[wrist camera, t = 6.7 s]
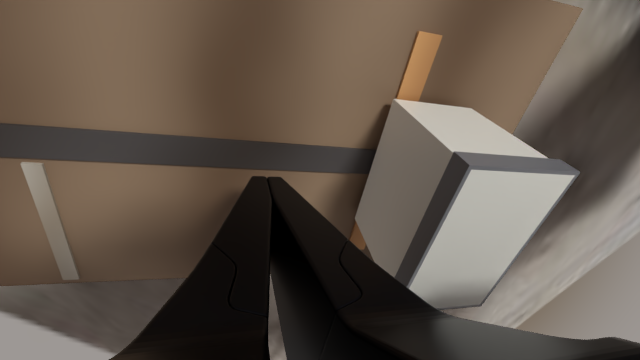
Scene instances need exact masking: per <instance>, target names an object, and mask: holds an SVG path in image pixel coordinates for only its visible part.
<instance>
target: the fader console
mask: <svg viewBox="0 0 640 360" xmlns="http://www.w3.org/2000/svg"><path fill="white" fill-rule="evenodd" d="M582 10H583V8H579V7H575V6H571V5H567V4H563V3H560V2H556V1H552V0H0V286H14V285H37V284H59V283H81V282H103V281H126V280H148V279H170V278H187V277H188V276H189V274H190V273H191V272H192V271H193V269H194V268H195V266H196V265H197V263H198V262H199V260H200V259H201V257H202V256H203V254H204V253H205V251H206V250H207V248H208V246H209V245H210V244H211V242H212V240H213V239H214V237H215V235H216V234H217V232H218V230H219V229H220V227H221V226H222V224H223V222H224V221H225V219H226V217H227V216H228V214H229V213H230V211H231V209H232V208H233V206H234V204H235V203H236V201H237V200H238V198H239V196H240V195H241V193H242V191H243V190H244V188H245V187H246V185H247V183H248V182H249V180H250V178H251V177H252V176H265V177H266V178H267V177H269V176H271V177H282V178H283V179H284V180H285V181H286V182H287V183H288V184H289V185H290V186H292V187H293V188H294V189H295V190H296V191H297V192H298V193H299V194H300V195H301V196H302V197H303V198H305V199H306V200H307V201H308V202H309V203H310V204H311V205H312V206H313V207H314V208H315V209H316V210H317V211H319V212H320V213H321V214H322V215H323V216H324V217H325V218H326V219H327V220H328V221H329V222H330V223H332V224H333V225H334V226H335V227H336V228H337V229H338V230H339V231H340V232H341V233H342V234H343V235H345V236H346V237H347V238H348V240H350V241H351V242H352V243H353V244H354V245H355V246H357V247H358V248H359V249H360V250H361V251H362V252H363V253H364V254H366V255H367V256H368V257H369V258H370V259H371V260H373V258H372V256H371V253H370V251H369V249H368V247H367V244H366V242H365V240H364V238H363V236H362V233H361V231H360V229H359V227H358V225H357V222H356V220H355V216H356V213H357V210H358V207H359V203H360V200H361V197H362V194H363V191H364V188H365V185H366V182H367V179H368V176H369V173H370V169H371V166H372V163H373V160H374V157H375V154H376V151H377V148H378V145H379V142H380V138H381V135H382V132H383V129H384V126H385V123H386V120H387V117H388V114H389V111H390V108H391V104H392V101H393V99H400V100H408V101H416V102H424V103H432V104H441V105H449V106H457V107H465V108H472V109H473V110H475V111H476V112H478V113H479V114H481V115H482V116H484V117H486V118H487V119H489V120H490V121H492V122H493V123H495V124H496V125H498V126H499V127H501V128H502V129H504V130H506V131H507V132H509V133H510V134H513V132H514V130H515V129H516V127H517V125H518V123H519V121H520V120H521V118H522V116H523V114H524V113H525V111H526V109H527V107H528V105H529V104H530V102H531V100H532V98H533V97H534V95H535V93H536V91H537V90H538V88H539V86H540V84H541V82H542V81H543V79H544V77H545V75H546V74H547V72H548V70H549V68H550V67H551V65H552V63H553V61H554V59H555V58H556V56H557V54H558V52H559V51H560V49H561V47H562V45H563V43H564V42H565V40H566V38H567V36H568V35H569V33H570V31H571V29H572V28H573V26H574V24H575V22H576V20H577V19H578V17H579V15H580V13H581V12H582ZM373 261H374V260H373Z"/></svg>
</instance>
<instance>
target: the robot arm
mask: <svg viewBox="0 0 640 360" xmlns="http://www.w3.org/2000/svg"><path fill="white" fill-rule="evenodd" d="M270 274H271V279H272V284H273V289H274V294H275V300H276V305H277V310H278V315H279V320H280V326H281V331H282V336H283V341H284V346H285V352H286V357H287V360H640V343H637V342H632V341H628V340H625V339H621V338H616V337H605V338H599V339H590V340H581V339H569V338H561V337H555V336H549V335H543V334H538V333H533V332H528V331H523V330H518V329H513V328H508V327H503V326H498V325H493V324H488V323H482V322H477V321H472V320H467V319H462V318H458V317H454V316H451V315H448V314H446V313H444V312H442V311H440V310H438V309H436V308H434V307H433V306H431V305H430V304H429V303H427V302H426V301H424V300H423V299H422V298H420V297H419V296H418V295H417V294H415V293H414V292H413V291H411V290H410V289H409V288H407V287H406V286H405V285H403V284H402V283H401V282H399V281H398V280H397V279H395V278H394V277H393V276H392V275H390V274H389V273H388V272H386V271H385V270H384V269H383V268H381V267H380V266H379V265H378V264H376V263H375V262H374V261H373V260H371V259H370V258H369V257H368V256H367V255H366V254H364V253H363V252H362V251H361V250H360V249H359V248H358V247H357V246H355V245H354V244H353V243H352V242H351V241H350V240H348V238H347V237H346V236H345V235H343V234H342V233H341V232H340V231H339V230H338V229H337V228H336V227H335V226H334V225H333V224H332V223H330V222H329V221H328V220H327V219H326V218H325V217H324V216H323V215H322V214H321V213H320V212H319V211H317V210H316V209H315V208H314V207H313V206H312V205H311V204H310V203H309V202H308V201H307V200H306V199H305V198H303V197H302V196H301V195H300V194H299V193H298V192H297V191H296V190H295V189H294V188H293V187H292V186H290V185H289V184H288V183H287V182H286V181H285V180H284V179H283V178H282V177H271V176H269V177H267V178H266V177H265V176H252V177H251V178H250V180H249V182H248V183H247V185H246V187H245V188H244V190H243V191H242V193H241V195H240V196H239V198H238V200H237V201H236V203H235V204H234V206H233V208H232V209H231V211H230V213H229V214H228V216H227V217H226V219H225V221H224V222H223V224H222V226H221V227H220V229H219V230H218V232H217V234H216V235H215V237H214V239H213V240H212V242H211V244H210V245H209V246H208V248H207V250H206V251H205V253H204V254H203V256H202V257H201V259H200V260H199V262H198V263H197V265H196V266H195V268H194V269H193V271H192V272H191V273H190V274H189V276H188V277H187V278H186V279H185V281H184V282H183V283H182V284H181V286H180V287H179V288H178V289H177V290H176V292H175V293H174V294H173V295H172V296H171V298H170V299H169V300H168V301H167V302H166V303H165V305H164V306H163V307H162V308H161V309H160V311H159V312H158V313H157V314H156V315H155V316H154V318H153V319H152V320H151V321H150V322H149V324H148V325H147V326H146V327H145V328H144V329H143V331H142V332H141V333H140V334H139V335H138V336H137V337H136V338H135V339H134V340H133V341H132V342H131V343H130V344H129V345H128V346H127V347H126V348H125V349H123V350H122V351H121V352H120V353H118V354H117V355H116V356H114V357H113V358H111V359H109V360H270V356H269V347H268V317H269V287H270Z"/></svg>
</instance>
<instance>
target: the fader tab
mask: <svg viewBox="0 0 640 360" xmlns="http://www.w3.org/2000/svg"><path fill="white" fill-rule="evenodd" d="M579 174H580V171H578V170H576V169H575V168H573V167H572V166H570V165H569V164H567V163H565V162H564V161H562V160H561V159H550V158H547V157H546V156H544V155H543V154H541V153H540V152H538V151H536V150H535V149H533V148H532V147H530V146H529V145H527V144H526V143H524V142H523V141H521V140H519V139H518V138H516V137H515V136H513V135H512V134H510V133H509V132H507V131H506V130H504V129H502V128H501V127H499V126H498V125H496V124H495V123H493V122H492V121H490V120H489V119H487V118H486V117H484V116H482V115H481V114H479V113H478V112H476V111H475V110H473V109H472V108H465V107H457V106H449V105H441V104H432V103H424V102H416V101H408V100H400V99H393V101H392V104H391V108H390V111H389V114H388V117H387V120H386V123H385V126H384V129H383V132H382V135H381V138H380V142H379V145H378V148H377V151H376V154H375V157H374V160H373V163H372V166H371V169H370V173H369V176H368V179H367V182H366V185H365V188H364V191H363V194H362V197H361V200H360V203H359V207H358V210H357V213H356V216H355V220H356V222H357V225H358V227H359V229H360V231H361V233H362V236H363V238H364V240H365V242H366V244H367V247H368V249H369V251H370V253H371V256H372V258H373V260H374V262H375V263H376V264H378V265H379V266H380V267H381V268H383V269H384V270H385V271H386V272H388V273H389V274H390V275H392V276H393V277H394V278H395V279H397V280H398V281H399V282H401V283H402V284H403V285H405V286H406V287H407V288H409V289H410V290H411V291H413V292H414V293H415V294H417V295H418V296H419V297H420V298H422V299H423V300H424V301H426V302H427V303H429V304H430V305H431V306H433V307H434V308H436V309H438V310H445V309H456V308H467V307H478V306H482V304H483V303H484V302H485V300H486V299H487V297H488V296H489V295H490V293H491V292H492V291H493V289H494V288H495V287H496V285H497V284H498V283H499V281H500V280H501V279H502V277H503V276H504V275H505V273H506V272H507V271H508V269H509V268H510V267H511V265H512V264H513V263H514V261H515V260H516V258H517V257H518V256H519V254H520V253H521V252H522V250H523V249H524V248H525V246H526V245H527V244H528V242H529V241H530V240H531V238H532V237H533V236H534V234H535V233H536V232H537V230H538V229H539V228H540V226H541V225H542V224H543V222H544V221H545V219H546V218H547V217H548V215H549V214H550V213H551V211H552V210H553V209H554V207H555V206H556V205H557V203H558V202H559V201H560V199H561V198H562V197H563V195H564V194H565V193H566V191H567V190H568V189H569V187H570V186H571V185H572V183H573V182H574V180H575V179H576V178H577V176H578V175H579Z"/></svg>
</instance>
